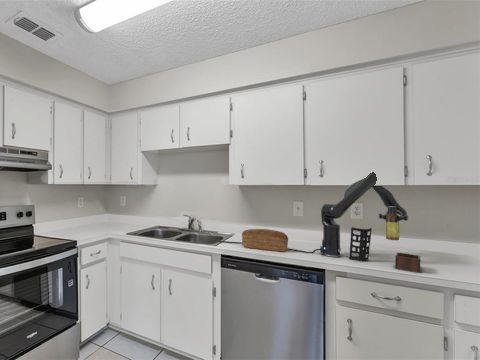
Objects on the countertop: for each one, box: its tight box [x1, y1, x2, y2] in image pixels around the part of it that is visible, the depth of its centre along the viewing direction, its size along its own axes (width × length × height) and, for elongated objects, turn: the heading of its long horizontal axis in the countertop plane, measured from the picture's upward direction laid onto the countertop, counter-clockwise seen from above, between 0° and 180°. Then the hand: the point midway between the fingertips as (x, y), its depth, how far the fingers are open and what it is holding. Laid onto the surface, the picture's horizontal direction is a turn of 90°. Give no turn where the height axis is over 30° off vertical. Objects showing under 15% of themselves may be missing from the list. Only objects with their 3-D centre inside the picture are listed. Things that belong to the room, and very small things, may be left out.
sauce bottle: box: [384, 206, 400, 241], centre depth 158 cm, size 7×6×20 cm
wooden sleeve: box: [394, 252, 421, 274], centre depth 145 cm, size 10×11×7 cm
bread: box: [241, 228, 289, 252], centre depth 187 cm, size 12×31×14 cm, turn 61°
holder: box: [348, 226, 373, 262], centre depth 160 cm, size 11×8×20 cm
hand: (391, 218), depth 156 cm, fingers closed on sauce bottle, 6 cm apart
